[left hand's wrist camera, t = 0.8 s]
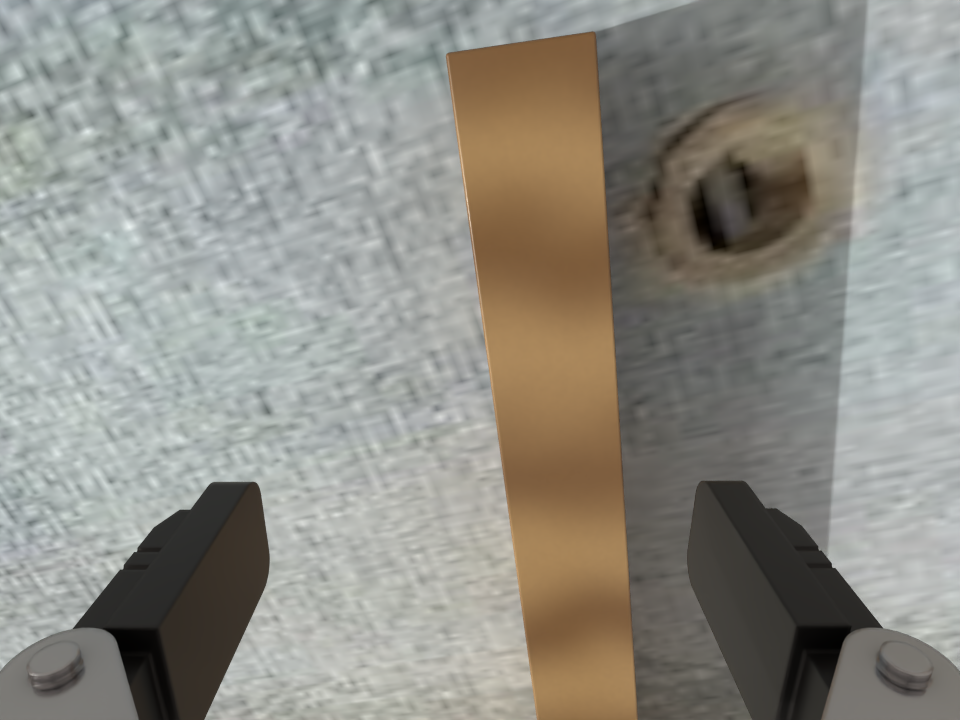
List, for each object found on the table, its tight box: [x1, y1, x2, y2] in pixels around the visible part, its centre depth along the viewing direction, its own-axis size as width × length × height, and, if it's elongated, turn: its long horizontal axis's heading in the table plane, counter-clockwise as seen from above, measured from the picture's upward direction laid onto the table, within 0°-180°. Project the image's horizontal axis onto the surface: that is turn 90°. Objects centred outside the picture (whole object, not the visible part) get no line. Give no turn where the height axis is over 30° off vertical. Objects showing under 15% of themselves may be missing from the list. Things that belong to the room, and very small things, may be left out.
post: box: [446, 31, 638, 720], centre depth 32 cm, size 56×4×9 cm, turn 8°
